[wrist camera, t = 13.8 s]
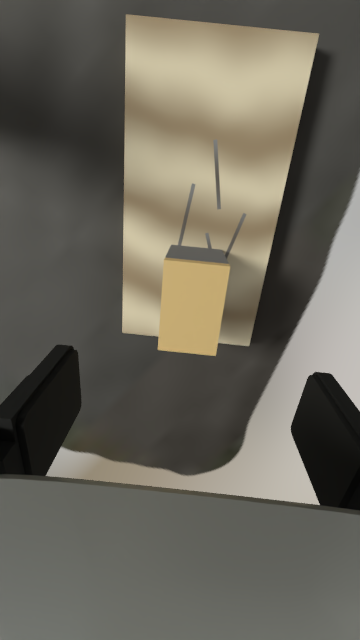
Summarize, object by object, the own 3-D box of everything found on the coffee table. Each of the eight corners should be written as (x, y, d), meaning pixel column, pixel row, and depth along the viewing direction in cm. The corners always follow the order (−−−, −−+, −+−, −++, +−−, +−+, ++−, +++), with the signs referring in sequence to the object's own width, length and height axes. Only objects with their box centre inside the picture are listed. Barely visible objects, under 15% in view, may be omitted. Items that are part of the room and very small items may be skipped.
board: (131, 27, 20) (126, 14, 19) (310, 45, 20) (319, 33, 19) (125, 326, 30) (122, 332, 28) (246, 338, 30) (249, 346, 28)
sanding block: (171, 244, 25) (163, 259, 19) (221, 249, 25) (230, 266, 19) (165, 316, 28) (157, 349, 22) (211, 321, 28) (215, 355, 22)
